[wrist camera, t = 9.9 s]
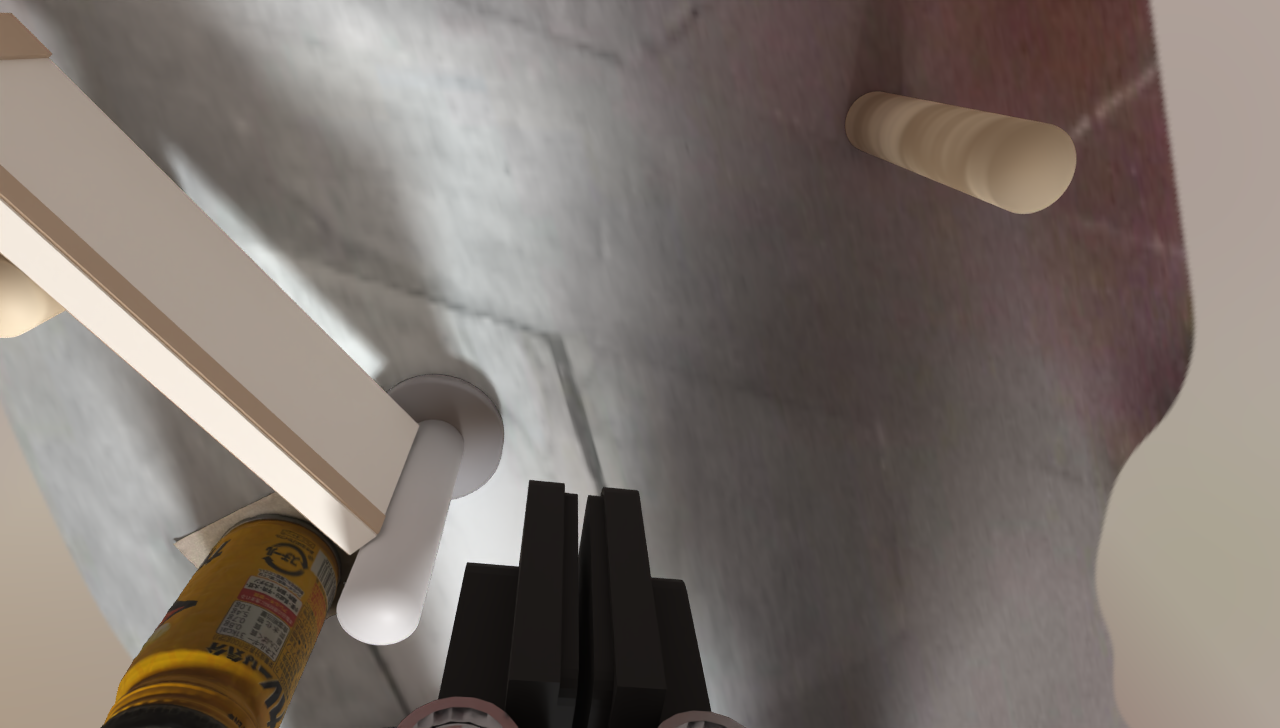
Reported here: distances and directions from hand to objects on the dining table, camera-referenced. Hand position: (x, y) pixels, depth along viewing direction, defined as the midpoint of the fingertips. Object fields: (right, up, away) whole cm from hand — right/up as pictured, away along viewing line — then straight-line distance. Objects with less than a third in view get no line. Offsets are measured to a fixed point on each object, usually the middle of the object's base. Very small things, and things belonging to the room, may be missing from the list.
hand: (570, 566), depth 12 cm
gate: (-14, +7, +19) cm, 25 cm away
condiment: (-16, -6, +26) cm, 31 cm away
